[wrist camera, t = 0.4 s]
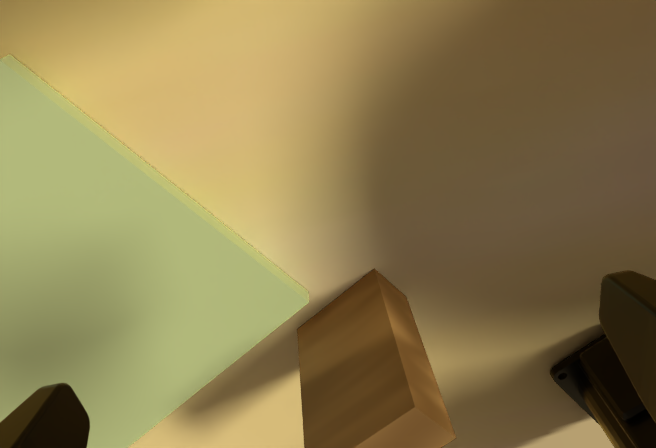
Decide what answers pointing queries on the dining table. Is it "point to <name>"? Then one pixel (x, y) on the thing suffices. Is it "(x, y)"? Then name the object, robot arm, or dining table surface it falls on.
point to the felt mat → (114, 272)
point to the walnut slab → (369, 374)
